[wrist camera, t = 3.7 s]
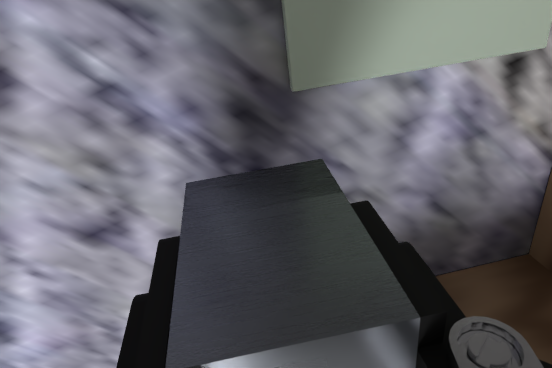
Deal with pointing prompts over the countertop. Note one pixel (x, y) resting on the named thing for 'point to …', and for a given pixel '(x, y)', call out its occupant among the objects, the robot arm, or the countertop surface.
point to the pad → (403, 35)
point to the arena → (514, 287)
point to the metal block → (284, 278)
